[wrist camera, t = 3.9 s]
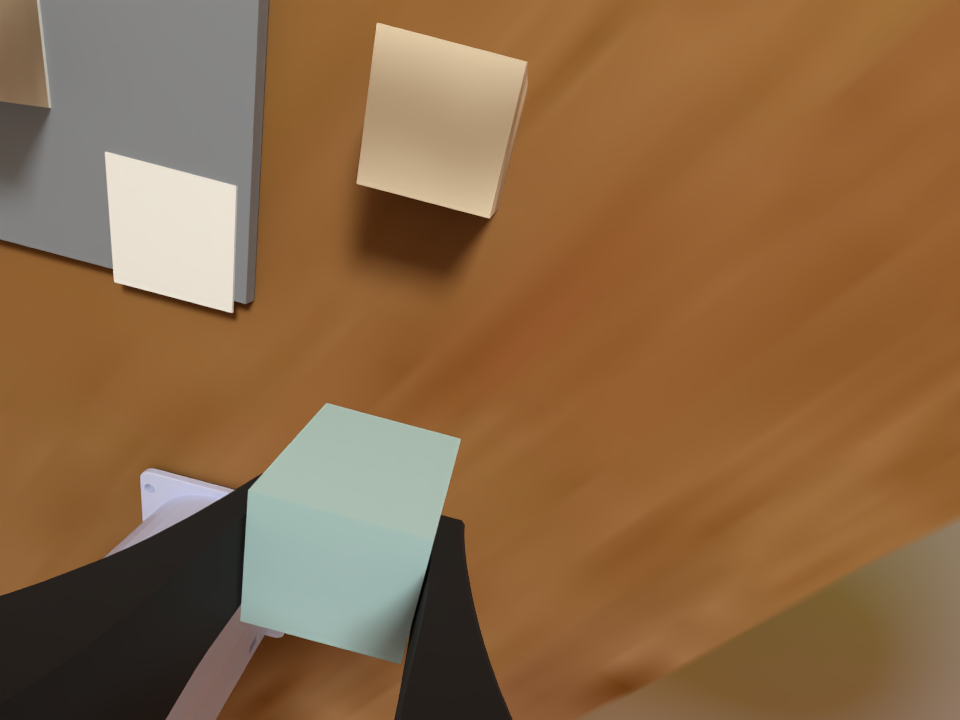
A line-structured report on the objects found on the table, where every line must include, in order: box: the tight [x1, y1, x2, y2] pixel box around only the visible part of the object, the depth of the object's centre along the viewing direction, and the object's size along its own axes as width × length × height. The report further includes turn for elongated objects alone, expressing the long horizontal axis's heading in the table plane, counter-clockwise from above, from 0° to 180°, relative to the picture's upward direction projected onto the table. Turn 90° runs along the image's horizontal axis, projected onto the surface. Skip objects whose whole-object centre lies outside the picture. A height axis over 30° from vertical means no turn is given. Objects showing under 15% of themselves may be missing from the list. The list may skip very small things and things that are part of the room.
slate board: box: [0, 0, 269, 313], centre depth 17 cm, size 12×14×1 cm
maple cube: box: [357, 23, 528, 219], centre depth 15 cm, size 4×4×4 cm
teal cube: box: [240, 403, 461, 664], centre depth 12 cm, size 4×4×4 cm
